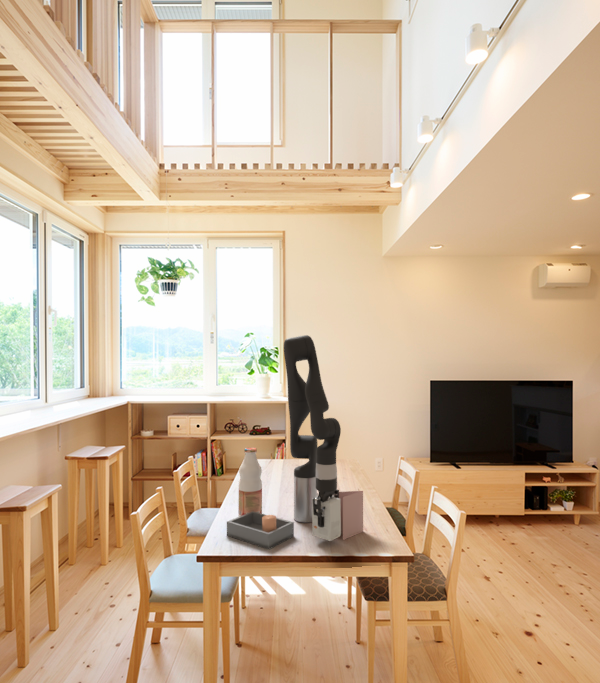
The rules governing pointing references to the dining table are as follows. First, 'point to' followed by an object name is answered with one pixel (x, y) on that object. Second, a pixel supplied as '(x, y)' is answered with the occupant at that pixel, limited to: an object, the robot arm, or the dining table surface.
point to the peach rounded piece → (269, 523)
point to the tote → (259, 530)
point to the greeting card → (351, 513)
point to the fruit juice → (250, 484)
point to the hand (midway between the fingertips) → (326, 523)
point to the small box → (328, 520)
